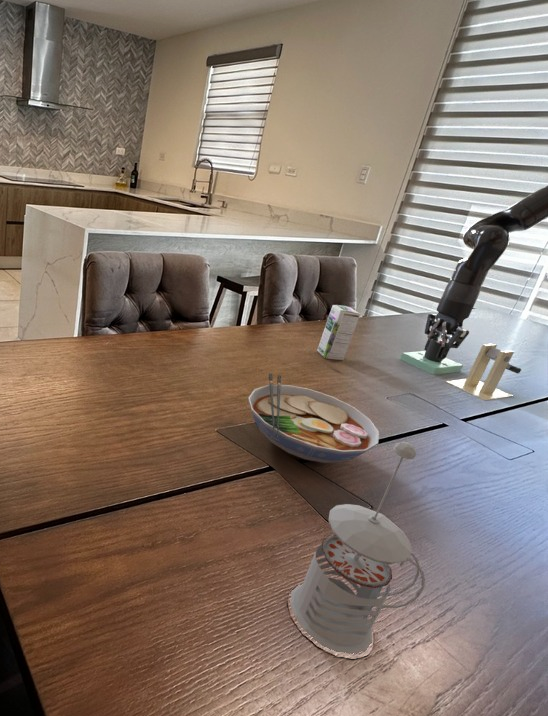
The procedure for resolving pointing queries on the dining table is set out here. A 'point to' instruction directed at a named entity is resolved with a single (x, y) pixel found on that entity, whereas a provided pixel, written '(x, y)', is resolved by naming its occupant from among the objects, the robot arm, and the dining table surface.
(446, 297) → the robot arm
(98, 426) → the dining table surface
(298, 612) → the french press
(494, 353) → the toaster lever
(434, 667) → the dining table surface
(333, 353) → the syrup box
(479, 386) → the wooden stand
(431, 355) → the black sushi roll
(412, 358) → the panel
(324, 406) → the ramen bowl
